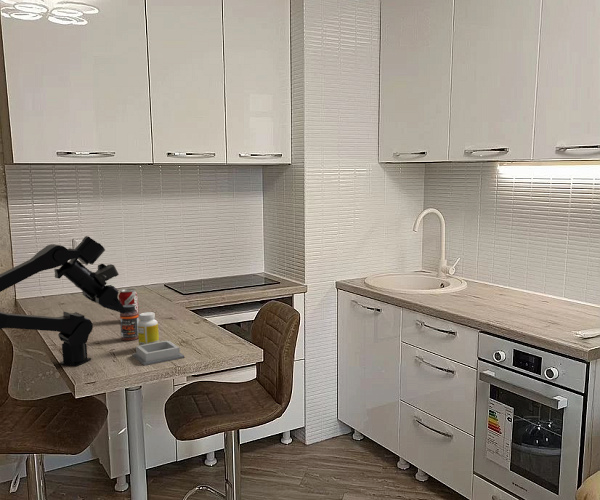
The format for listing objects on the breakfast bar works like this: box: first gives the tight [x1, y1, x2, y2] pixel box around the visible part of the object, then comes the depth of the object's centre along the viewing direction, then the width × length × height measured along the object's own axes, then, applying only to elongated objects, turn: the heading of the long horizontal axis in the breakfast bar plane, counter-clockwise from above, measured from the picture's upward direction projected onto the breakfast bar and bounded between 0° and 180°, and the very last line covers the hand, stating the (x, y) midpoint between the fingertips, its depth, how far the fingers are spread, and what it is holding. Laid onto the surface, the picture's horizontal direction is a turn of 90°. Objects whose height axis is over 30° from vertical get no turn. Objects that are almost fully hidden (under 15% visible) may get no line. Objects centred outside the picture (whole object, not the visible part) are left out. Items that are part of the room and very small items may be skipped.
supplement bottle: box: [119, 305, 140, 342], centre depth 193 cm, size 6×6×11 cm
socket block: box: [131, 340, 185, 366], centre depth 172 cm, size 12×12×3 cm
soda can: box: [118, 288, 140, 317], centre depth 218 cm, size 7×7×12 cm
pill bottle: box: [137, 311, 160, 346], centre depth 181 cm, size 6×6×11 cm
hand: (120, 309), depth 176 cm, fingers open, 9 cm apart
